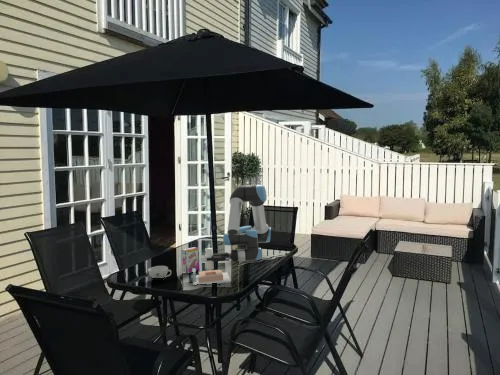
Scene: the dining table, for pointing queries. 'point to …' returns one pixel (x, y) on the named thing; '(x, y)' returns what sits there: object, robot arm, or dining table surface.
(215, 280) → the charging dock
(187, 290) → the dining table surface
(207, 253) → the peg
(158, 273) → the teacup
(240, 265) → the dining table surface
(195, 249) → the candy bar box
